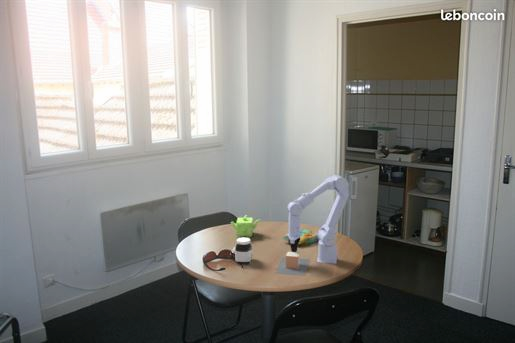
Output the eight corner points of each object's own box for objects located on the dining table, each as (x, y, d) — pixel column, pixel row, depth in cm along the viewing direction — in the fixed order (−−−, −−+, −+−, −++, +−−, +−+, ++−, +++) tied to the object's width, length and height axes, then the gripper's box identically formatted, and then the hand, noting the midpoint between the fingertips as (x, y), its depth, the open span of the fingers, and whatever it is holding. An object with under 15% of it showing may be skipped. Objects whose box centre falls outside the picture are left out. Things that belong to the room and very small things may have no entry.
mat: (309, 260, 224) (309, 259, 224) (304, 276, 204) (304, 275, 204) (282, 258, 227) (282, 257, 227) (275, 274, 208) (275, 273, 207)
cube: (299, 252, 217) (298, 257, 211) (299, 264, 218) (298, 268, 212) (287, 251, 218) (285, 256, 212) (287, 263, 219) (285, 267, 213)
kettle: (246, 230, 272) (245, 212, 270) (262, 235, 262) (262, 217, 260) (227, 235, 262) (227, 217, 260) (244, 241, 252) (243, 222, 250)
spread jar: (248, 266, 217) (247, 243, 215) (226, 264, 220) (226, 241, 218) (255, 257, 229) (254, 235, 226) (234, 255, 232) (233, 234, 229)
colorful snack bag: (321, 232, 252) (297, 240, 239) (321, 240, 253) (296, 248, 240) (306, 227, 261) (282, 235, 248) (306, 235, 262) (282, 243, 249)
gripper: (288, 221, 224) (288, 246, 227) (283, 230, 210) (283, 257, 213) (302, 222, 223) (302, 247, 225) (298, 231, 209) (298, 258, 211)
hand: (294, 252), depth 219 cm, fingers closed
